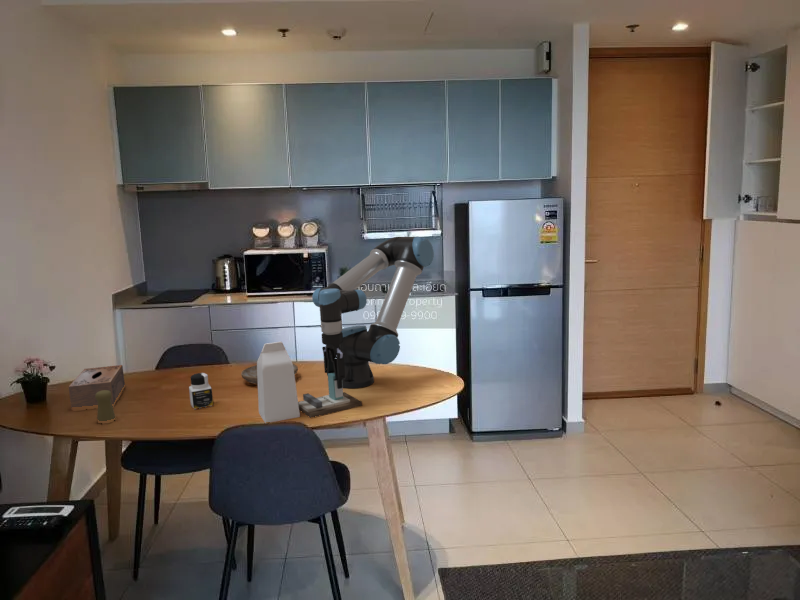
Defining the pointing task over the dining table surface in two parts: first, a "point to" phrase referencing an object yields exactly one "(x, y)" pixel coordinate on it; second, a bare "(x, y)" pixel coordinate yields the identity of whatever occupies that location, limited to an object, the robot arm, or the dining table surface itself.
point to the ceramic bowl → (251, 373)
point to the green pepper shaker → (104, 405)
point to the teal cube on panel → (331, 395)
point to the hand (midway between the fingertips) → (336, 394)
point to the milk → (276, 384)
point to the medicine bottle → (200, 391)
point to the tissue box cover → (96, 385)
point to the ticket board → (324, 405)
